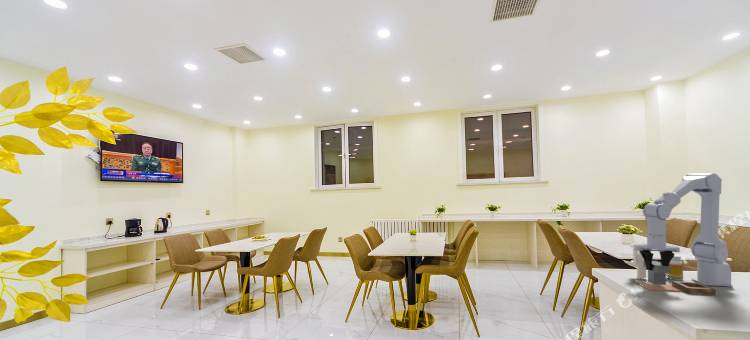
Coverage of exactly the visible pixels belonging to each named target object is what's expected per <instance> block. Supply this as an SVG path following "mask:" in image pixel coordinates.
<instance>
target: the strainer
mask: <svg viewBox="0 0 750 340" xmlns="http://www.w3.org/2000/svg"><path fill="white" fill-rule="evenodd" d="M634 245H647V242H642V243H637V242H636V243H634V242H633V243H631V244H630V247H631V248H632V257H633V258H632V260H630V264H631V265H632V266H635V267H636V278H637V279H638V278H641V279H640V280H645V279H644V278H646V279H647V268H645V267H644V259H643V257H642V255H641V253H640V251H636V250H634ZM650 252H651V253H652V251H650Z"/></svg>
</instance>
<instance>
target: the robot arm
mask: <svg viewBox="0 0 750 340" xmlns="http://www.w3.org/2000/svg"><path fill="white" fill-rule="evenodd" d="M722 181H723V180H722V178H721V177H720V176H719V175H718V174H717V173H714V172H713V173H712V172H711V173H686V174H685V176H683V177H682V179H681V182H680V183H679V184H678V185H677V186H676V187H675V188H674V189H673V190H672V191H667V192H666V191H665V192H664V193H662V195H661V196H659V197H658V198H657V199H655V200H654V201H653V202H652V203H650V202H649V203H647V204H646V205H644V207H643V210H642V214H643V215H644V218H645V222H646V243H647V245H634V248H633V249H634V250H636V251H640V253H641V255H642V257H643V259H644V261H645V264H646V270H647V271H648V270H652V261H653V259H654V258H653V257H654V253H652V252H659V256H660V263H663V264H665V265H669V263H670V261H671V259H672V258H673V257H674V255H675V253H680V247H679V246H674V245H667V219H668V218H669V217H670V215H671V213H672V210H674V208H675V207H677V206H678V205H680V203H681V199H682V198H684V197H685V196H687V194H689V193H690V192H693V193H695V194H698V195H699V196H700V197H701V202H700V223H699V224H700V225H699V226H700V227H699V228H700V229H699V235H698V236H696V237H695V238H693V240H692V241H693V242H692V245H691V246H690V252H691V254H692V256H693V257H694V259H695V260H696V263H697V265H696V269H697V270H696V274H697V275H696V277H697V278H694V277H693V278H691V280H693V282H699V283H701V284H704V285H706V286H718V287H733V286H734V285H733V284H732V267H731V266H730V264H729V263H728V262H726V261H727V260H728V257H729V250H728V246H727V244H728V243H726V242H725V241H724V240H722V239H721V238H720V237H719V227H720V226H719V220H720V198H721V197H720V196H721V194H722ZM650 251H651V252H650Z"/></svg>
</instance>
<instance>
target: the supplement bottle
mask: <svg viewBox="0 0 750 340" xmlns="http://www.w3.org/2000/svg"><path fill="white" fill-rule="evenodd" d="M668 266H670V267H671V273H666V276H667V277H668V278H671V279H670V280H672V279H673V280H672V281H684V262H682V261H681V255H678V254H674V257H673V258H672V259H671V261H670V263H669V265H668ZM667 277H666V278H667ZM668 278H667V279H668Z"/></svg>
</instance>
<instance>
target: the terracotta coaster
mask: <svg viewBox="0 0 750 340" xmlns="http://www.w3.org/2000/svg"><path fill="white" fill-rule="evenodd" d="M634 283H636V284H637V283H639V284H641V285H643V286H644V287H643V286H642V287H643V288H646V289H647V290H648V291H656V292H657V291H658V292H674V293H675V292H676V293H681V290H679V289H677V288H675V287H673V286H672V285H670V284H668V283H666V285H657V284H652V283H650V282H647V283H646V280H645V281H644V280H635V281H634ZM639 284H638V285H639ZM641 285H640V286H641Z"/></svg>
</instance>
